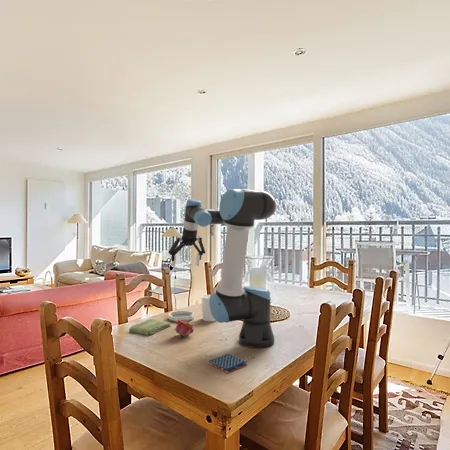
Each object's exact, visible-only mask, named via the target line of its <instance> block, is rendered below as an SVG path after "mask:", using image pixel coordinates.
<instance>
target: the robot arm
mask: <svg viewBox="0 0 450 450" xmlns="http://www.w3.org/2000/svg"><path fill="white" fill-rule="evenodd" d="M276 208H277V203H276V200H275V197H274V196H273V195H272V194H270V193H269V192H267V191H265V190H262V189H261V190H257V189H245V188H231V189H228V190H226V191H225V192H224V194H223V195H222V196H221V198H220V203H219V207H218V208H217V209H215V208H203V207H202V201H201V200H200V199H196V198H188V199H187V201H186V204H185V211H184V212H185V213H184V220H183V225H182V227H183V228H182V236H181V237H179V236H176V237H175V240H174V242H173V243H172V245H171V246H170V248H169V250H168V254H169V255H170V257H171V259H170V260H171V266H172V267H173V268H176V262H177V254H178V253H179V252H180V251H181V250H182V249H183V248H184V247H188V246H189V247H190V246H191V247H192V246H193V247H194V248H195V249H196V251H197V253H196V257H195V258H196V259H195V265H196V266H197V267H199V266H200V260H202V256H203V255H204V254H206V249H205V246H204V244H203V238H202V236H200V235H199V236H198V228H199V226H200V227H207V226H209V225H225V226H226V235H225V243H224V251H223V260H222V270H221V278H220V283H219V285H217V286H216V288H215V290H216V291H215V293H212V294H210V295H211V296H210V299H209V306H210V311H211V313H212V316H213V318H214V319H215V320H216V321H215V322H217V323H221V324H222V323H231V322H236V321H242V325H241V328H240V331H239V334H238V342H239V344H241V345H243V346H245V347H248V348H257V349H258V348H268V347H271V346H273V345H274V344H275V335H274V332H273V329H272V325H271V292H270V290H269V289H267V288H264V287H261V286H253V285H245V286H242V285H243V280H244V279H243V278H244V272H245V266H246V265H245V263H246V257H247V256H246V255H247V248H248V240H249V233H250V229H252V228H253V227H254V225H255V221H259V220H260V221H261V220H267V219H269V218H271V217H272V216H273V214H275V212H276V210H277V209H276ZM196 241H197V242H198V244H199V246H198V245H197V244H196ZM199 247H200V248H199Z"/></svg>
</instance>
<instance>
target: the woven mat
mask: <svg viewBox="0 0 450 450" xmlns="http://www.w3.org/2000/svg"><path fill="white" fill-rule="evenodd" d="M247 362H248V361H247V360H245V359H242V358H240V357H238V356H236V355H234V354H233V355H232V354H230V353H228V354H227V353H226V354H225V355H224V354H223V355H220V356H219V357H216V358H212V359H209V361H208V364H210V365H209V366H211V367H212V365H213V366H215V367H217V369H218V368H219V370H220V369H221V370H220V371H222V370H224V371H225V373H226V374H228V373H231V372H233V371H235V370H238V369H240V368H243V367H245V366H247V365H248V363H247ZM215 367H214V368H215ZM224 371H223V372H224Z"/></svg>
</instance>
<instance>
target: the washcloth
mask: <svg viewBox="0 0 450 450" xmlns="http://www.w3.org/2000/svg"><path fill="white" fill-rule="evenodd" d="M171 325H172V324H171V323H170V322H168V321H164V320H161V319H158V320H157V319H155V318H150V319H146V320H144V321H142V322H140V323H136V324H134V325H132V326H130V327H129V329H128V331H129V332H130V333H133V334H134V333H135V334H139V335H143V336H147V337H149V336H151V335H154V334H157V333H159V332H161V331H162V330H164V329H166V328H168V327H170V326H171Z"/></svg>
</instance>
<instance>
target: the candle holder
mask: <svg viewBox="0 0 450 450" xmlns="http://www.w3.org/2000/svg"><path fill="white" fill-rule="evenodd" d="M211 295H212V294H203V295H200V296H201V297H200V298H201V299H200V300H201V313H202V314H201V316H202V321H204V322H217V321H216V320H215V319H214V318H213V316H212V313H211V311H210V306H209V299H210V296H211Z"/></svg>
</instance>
